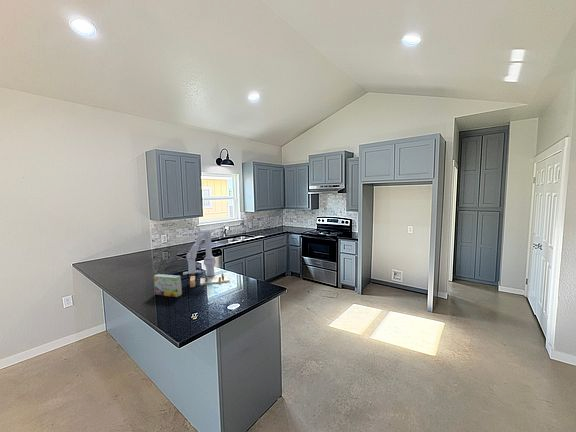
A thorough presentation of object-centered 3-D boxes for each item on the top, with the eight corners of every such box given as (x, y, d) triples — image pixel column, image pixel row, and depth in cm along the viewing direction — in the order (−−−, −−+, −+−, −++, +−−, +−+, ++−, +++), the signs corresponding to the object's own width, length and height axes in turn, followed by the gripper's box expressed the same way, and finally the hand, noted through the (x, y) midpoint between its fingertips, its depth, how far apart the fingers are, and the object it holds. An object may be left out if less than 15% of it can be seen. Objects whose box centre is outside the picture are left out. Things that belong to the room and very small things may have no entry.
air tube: (190, 280, 232) (190, 276, 232) (195, 280, 233) (195, 275, 233) (190, 287, 215) (189, 282, 215) (195, 286, 216) (194, 281, 216)
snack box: (154, 295, 200) (153, 275, 199) (160, 292, 206) (158, 273, 205) (177, 297, 194) (176, 277, 193) (182, 294, 199) (181, 275, 198)
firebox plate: (200, 279, 233) (200, 274, 233) (227, 276, 241) (227, 271, 241) (200, 285, 218) (199, 280, 218) (229, 281, 226) (229, 276, 225)
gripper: (182, 268, 217) (183, 284, 218) (200, 266, 221) (201, 282, 222) (183, 266, 224) (184, 282, 225) (200, 264, 228) (201, 279, 229)
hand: (192, 282), depth 224 cm, fingers closed on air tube, 4 cm apart
